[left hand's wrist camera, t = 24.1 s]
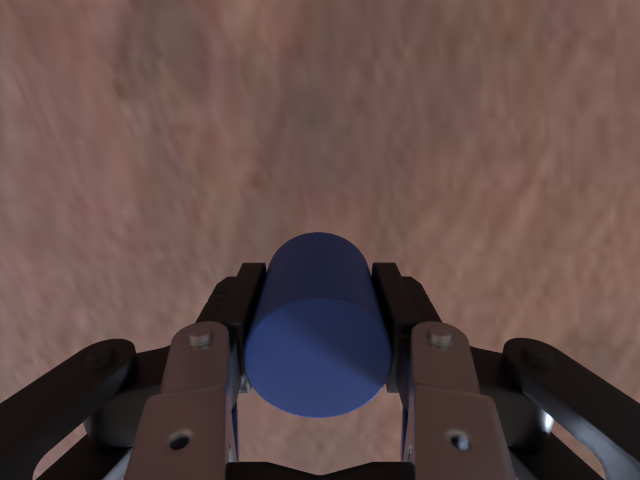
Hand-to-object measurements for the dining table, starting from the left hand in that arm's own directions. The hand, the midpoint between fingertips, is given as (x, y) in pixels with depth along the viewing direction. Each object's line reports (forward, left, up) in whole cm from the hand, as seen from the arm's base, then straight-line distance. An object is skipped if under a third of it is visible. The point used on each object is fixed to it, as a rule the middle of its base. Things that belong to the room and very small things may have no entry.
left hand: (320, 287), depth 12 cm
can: (0, 0, -1) cm, 1 cm away
